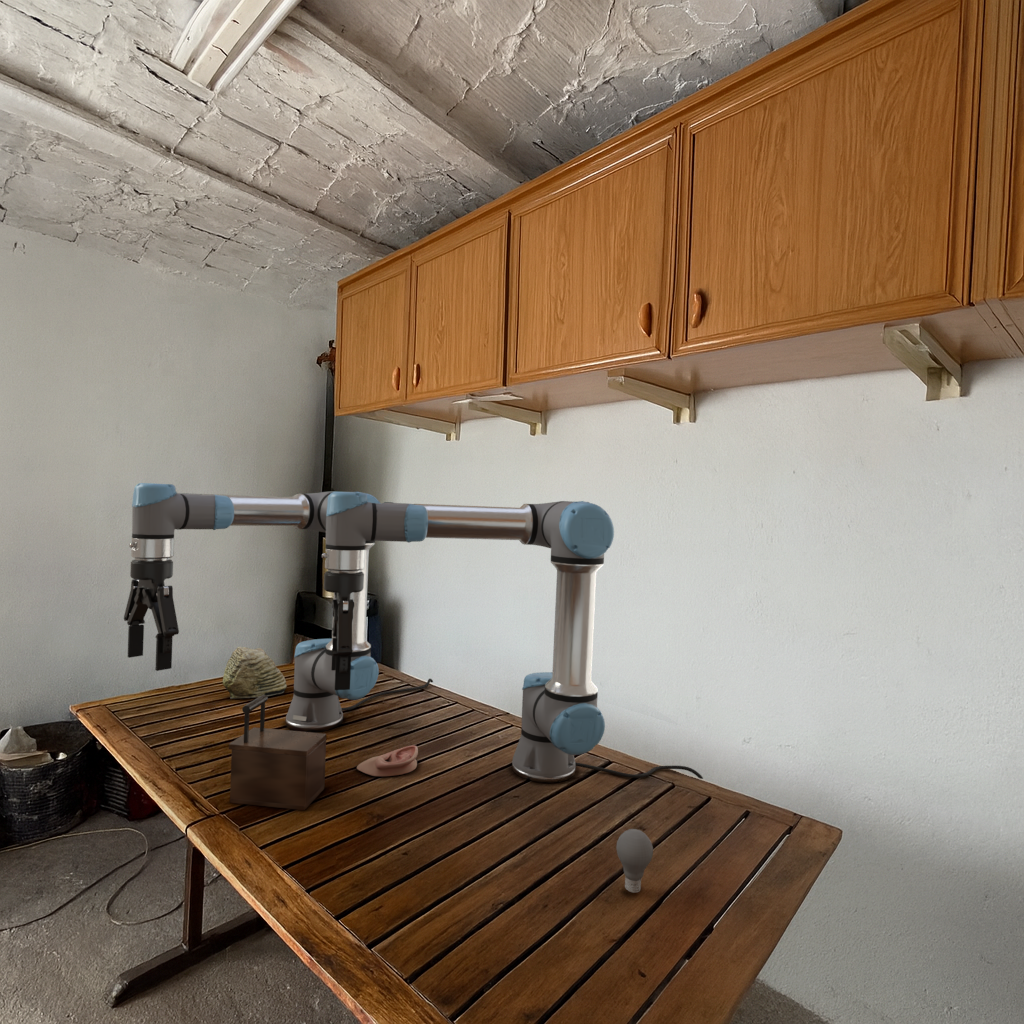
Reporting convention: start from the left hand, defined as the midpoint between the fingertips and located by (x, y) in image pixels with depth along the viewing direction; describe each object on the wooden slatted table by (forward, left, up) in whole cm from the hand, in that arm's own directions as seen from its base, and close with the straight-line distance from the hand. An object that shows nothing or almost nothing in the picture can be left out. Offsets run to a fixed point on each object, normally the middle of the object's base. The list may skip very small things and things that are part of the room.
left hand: (148, 662), depth 129 cm
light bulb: (-41, +90, -28) cm, 103 cm away
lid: (-19, +18, -17) cm, 31 cm away
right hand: (-21, +35, 0) cm, 41 cm away
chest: (-19, +18, -28) cm, 38 cm away
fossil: (-50, -47, -28) cm, 74 cm away
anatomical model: (-44, +24, -28) cm, 57 cm away
